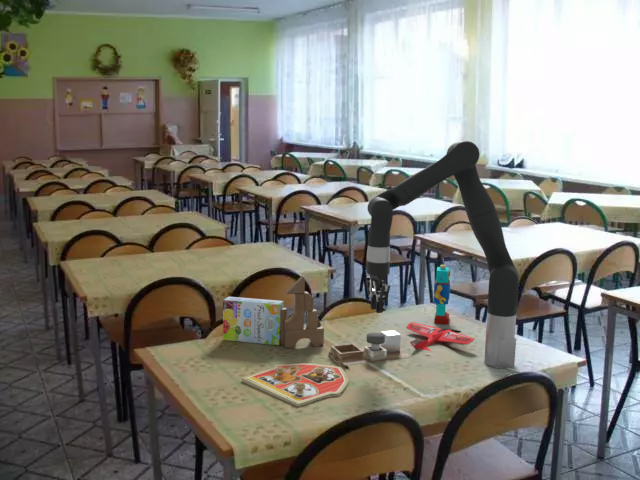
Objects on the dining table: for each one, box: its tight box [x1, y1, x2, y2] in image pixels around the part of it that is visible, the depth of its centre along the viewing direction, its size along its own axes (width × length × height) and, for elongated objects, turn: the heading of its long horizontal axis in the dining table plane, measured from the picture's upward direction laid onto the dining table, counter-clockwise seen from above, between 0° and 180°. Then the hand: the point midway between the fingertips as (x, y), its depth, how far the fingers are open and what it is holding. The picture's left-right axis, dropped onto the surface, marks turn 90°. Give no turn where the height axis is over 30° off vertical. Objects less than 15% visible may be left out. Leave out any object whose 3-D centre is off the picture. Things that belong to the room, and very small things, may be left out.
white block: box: [380, 329, 402, 353], centre depth 254 cm, size 5×5×6 cm
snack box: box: [222, 296, 285, 346], centre depth 264 cm, size 21×6×15 cm, turn 76°
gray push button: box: [366, 332, 385, 351], centre depth 246 cm, size 6×6×5 cm
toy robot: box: [433, 258, 451, 325], centre depth 291 cm, size 12×6×25 cm, turn 168°
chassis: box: [328, 342, 413, 370], centre depth 250 cm, size 14×24×4 cm, turn 111°
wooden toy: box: [279, 274, 325, 349], centre depth 260 cm, size 16×7×25 cm, turn 103°
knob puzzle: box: [241, 362, 349, 407], centre depth 228 cm, size 29×30×4 cm
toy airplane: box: [405, 322, 475, 352], centre depth 263 cm, size 27×27×5 cm
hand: (376, 310), depth 244 cm, fingers open, 3 cm apart
